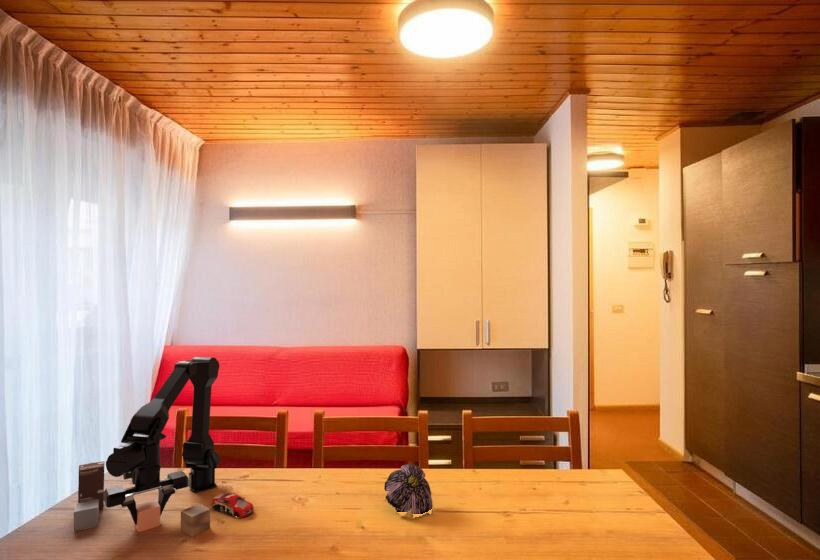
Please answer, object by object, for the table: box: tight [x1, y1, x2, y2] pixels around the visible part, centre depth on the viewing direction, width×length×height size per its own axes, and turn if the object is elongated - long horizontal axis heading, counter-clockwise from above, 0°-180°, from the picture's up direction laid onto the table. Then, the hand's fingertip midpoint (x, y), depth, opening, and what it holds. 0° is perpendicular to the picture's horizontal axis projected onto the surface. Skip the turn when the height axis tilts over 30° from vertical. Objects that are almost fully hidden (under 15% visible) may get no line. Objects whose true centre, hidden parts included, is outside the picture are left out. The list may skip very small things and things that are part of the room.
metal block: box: [180, 503, 211, 537], centre depth 121 cm, size 5×5×5 cm
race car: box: [211, 492, 255, 518], centre depth 131 cm, size 13×5×4 cm, turn 60°
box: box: [77, 461, 106, 510], centre depth 131 cm, size 6×4×12 cm
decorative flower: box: [383, 463, 434, 515], centre depth 134 cm, size 15×12×15 cm
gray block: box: [73, 499, 100, 532], centre depth 123 cm, size 5×5×5 cm
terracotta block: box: [134, 498, 161, 533], centre depth 123 cm, size 5×5×5 cm
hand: (147, 520), depth 123 cm, fingers closed on terracotta block, 5 cm apart
